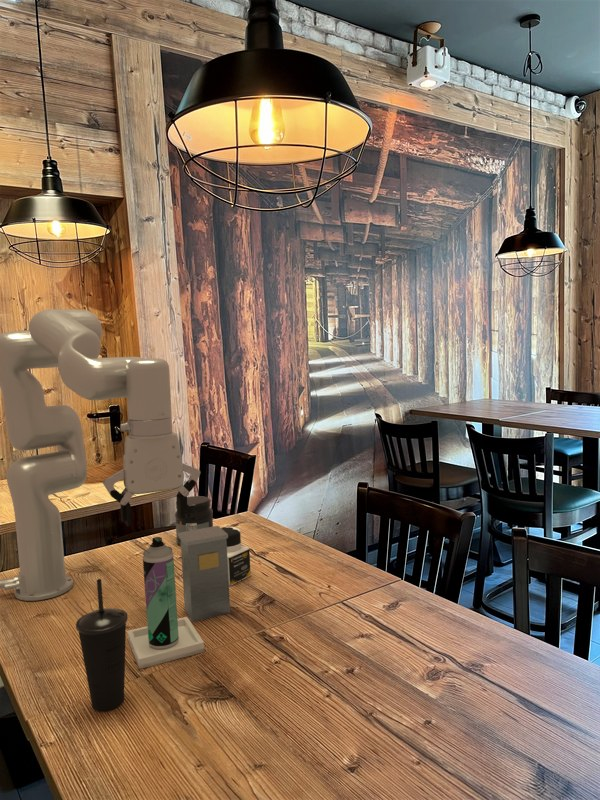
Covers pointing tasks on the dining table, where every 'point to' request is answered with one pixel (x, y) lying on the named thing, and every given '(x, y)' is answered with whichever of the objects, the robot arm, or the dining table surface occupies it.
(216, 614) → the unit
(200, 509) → the supplement container
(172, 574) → the spray can
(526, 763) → the dining table surface
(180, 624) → the dish
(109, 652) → the drinking cup
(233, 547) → the medicine bottle
